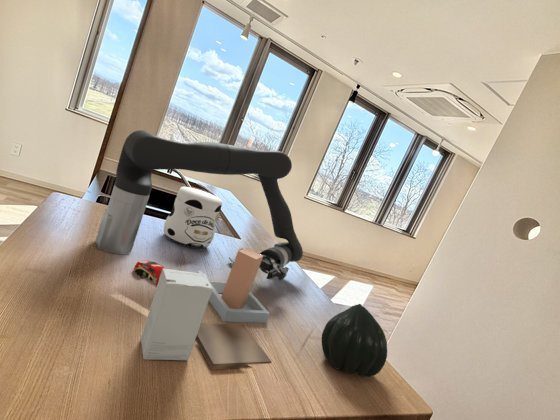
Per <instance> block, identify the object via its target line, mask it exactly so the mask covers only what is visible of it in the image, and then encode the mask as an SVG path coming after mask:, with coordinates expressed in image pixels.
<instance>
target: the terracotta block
mask: <svg viewBox="0 0 560 420" xmlns="http://www.w3.org/2000/svg"><path fill="white" fill-rule="evenodd" d="M238 250H239V249H238ZM238 250H237V252H238V253H236V256H235V258H234V260H235V261H234V264H233V266H232V265H231V269H230V272H229V275H228V277H227V281H226V282H225V283H226V285H225V288H224V291H223V294H222V296H221V298H222V299H223V300H224V302H225V303H226V304H227V306H228V307H229V308H231V309H241V308H242V307H243V306H245V303H246V300H247V298H248V295H249V293H250V292H251V289H252V287H253V285H254V282H255V279H256V277H257V274H258V272H259V269H260V268H259V266H260V264H261V261H262V258H263V256H262V255H260V253H257V252H255V251H253V250H251V249H249V248H247V247H245V248H243V249H242V250H239V251H238Z"/></svg>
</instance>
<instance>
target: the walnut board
mask: <svg viewBox="0 0 560 420" xmlns="http://www.w3.org/2000/svg"><path fill="white" fill-rule="evenodd" d="M195 342H196V343H197V346H198V348H199V349H200V351H201V353H202V354H203V356H204V358H205V360H206V362H207V365H208V366H209V368H210V370H213V371H214V370H229V369H231V370H232V369H247V368H248V369H251V368H253V367H252V366H250V365H248V364H262V363H263V364H267V363H268V364H270V363H272V360H271V359H270V357H269V356H268V355H267V353H266V352H265V351H264V349H263V348H262V347H261V345H260V344H259V343H258V341H256V339H255V338H254V336H253V335H252V334H251V332H250V331H249V330H248V328H247V327H246V325H244V324H239V323H235V324H234V323H231V324H230V323H207V322H206V323H203V322H201V324H200V327H199V330H198V333H197V336H196V339H195Z"/></svg>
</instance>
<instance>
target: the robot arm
mask: <svg viewBox="0 0 560 420" xmlns="http://www.w3.org/2000/svg"><path fill="white" fill-rule="evenodd" d="M126 137H127V138H126V139H125V140H124V142H123V145H122V149H121V153H120V156H119V160H118V164H117V167H116V172H115V181H114V185H113V188H112V191H111V195H110V198H109V202H108V205H107V208H105V209H104V211H103V214H102V217H101V220H100V224H99V227H98V230H97V234H96V237H95V245H96V248H97V250H102V251H104V252H107V253H112V254H117V255H129V254H131V252H132V251H133V247H134V245H135V242H136V238H137V235H138V232H139V229H140V225H141V223H142V220H143V216H144V213H145V211H146V207H147V203H148V201H149V198H150V194H151V191H152V189H153V183H152V174H153V171H155V170H182V171H183V170H184V171H191V172H196V173H203V174H204V173H205V174H211V175H224V176H225V175H228V176H232V175H240V176H241V175H257V176H258V179H259V181H260V184H261V187H262V190H263V192H264V196H265V198H266V201H267V206H268V208H269V212H270V217H271V223H272V228H273V233H274V236H275V238H279V239H283V240H286V242H277V243H275V244H274V245H273V246H271V247H269V248H267V249H264V250H262V251H261V252H260V253H259V254H260V255H262V256H263V258H262V261H261V264H260V266H259V269H260V271H262V272H263V273H264V274H265V275H267V276H266V279H267V280H273V279H276V278H277V279H278V280H279V281H283V280H284V279H285V278H286V277H287V275H288V272H289V270H290V268H288V267H287V266H286V265H288V264H289V263H290V262H291V263H293V262H299V261H301V259H302V258H303V255H304V251H303V247H302V244H301V243H300V240H299V239H298V237H297V234H296V232H295V229H294V228H295V227H294V223H293V218H292V217H293V216H292V213H291V210H290V207H289V205H288V203H287V202H286V200H285V198H284V196H283V194H282V192H281V189H280V185H279V183H278V180H280V179H283V178H285V177H286V176H288V175H289V174H290V172H291V171H292V166H293V165H292V160H291V158H290V157H289V156H288V155H287V154H286V153H285V152H282V151H279V150H273V151H271V150H269V151H268V150H267V151H266V150H254V149H249V148H246V147H242V146H241V147H240V146H237V145H232V144H226V143H221V142H214V141H213V142H212V141H202V142H199V141H198V142H192V143H190V142H189V143H186V142H179V141H174V140H169V139H166V138H161V137H159V136H157V135H155V134H153V133H151V132H150V131H146V130H134V131H133V132H131V133H130V134H129V135H128V136H126Z"/></svg>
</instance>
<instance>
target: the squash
mask: <svg viewBox="0 0 560 420" xmlns="http://www.w3.org/2000/svg"><path fill="white" fill-rule="evenodd" d="M321 347H322V352H323V355H324V357H325V358H326V359H327V361H329V362H330V364H331V366H332V367H333V368H335V369H337V370H344V371H346V372H347V373H349V374H353V373H356V374H357V375H359V376H361V377H364V378H365V377H366V378H370V377H374V376H376V375H378V373H380V372H381V371H382V369H383V368H384V366H385V364H386V361H387V358H388V342H387V338H386V334H385V332H384V329H382V327H381V325H380V323H379V322H378V321H377V320H376V319H375V317H374V316H373V315H372V314H371V312H370V311H369V310H368V309H367V308H366V307H365V306H363V305H362V304H361V303H358V304H354V305H352V306H350V307H349V308H348V307H347V309H345V310H343V311H341V312H339V313H337V314H336V315H334V316H333V317H331V319H329V320H328V322H326V324H325V326H324V327H323V330H322V334H321Z"/></svg>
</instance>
